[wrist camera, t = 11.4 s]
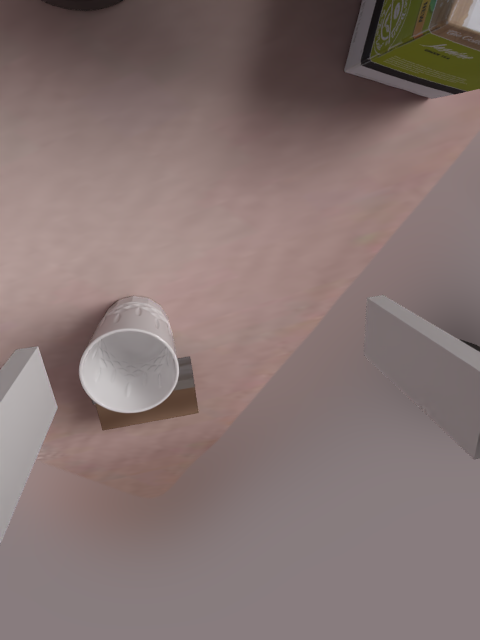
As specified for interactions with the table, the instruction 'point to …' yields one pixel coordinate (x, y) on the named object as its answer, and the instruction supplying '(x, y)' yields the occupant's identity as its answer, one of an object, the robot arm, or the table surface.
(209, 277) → the table surface
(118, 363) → the white cup
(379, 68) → the tea box
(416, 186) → the table surface
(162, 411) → the block
